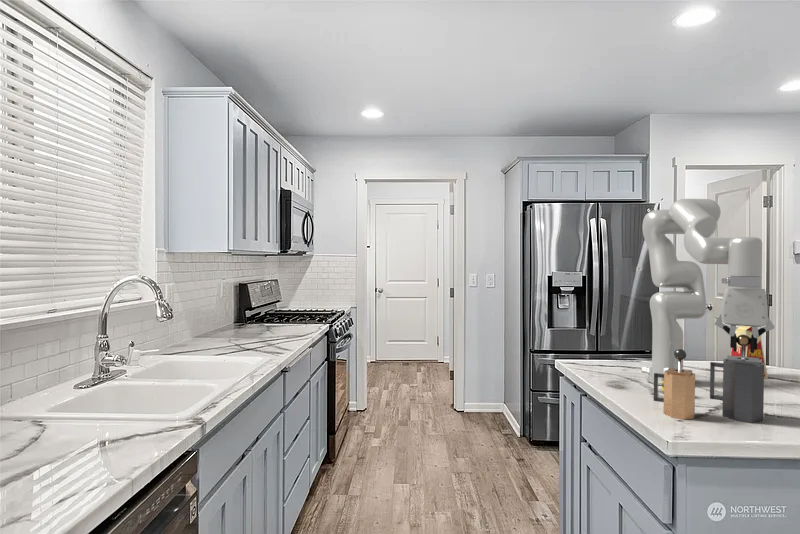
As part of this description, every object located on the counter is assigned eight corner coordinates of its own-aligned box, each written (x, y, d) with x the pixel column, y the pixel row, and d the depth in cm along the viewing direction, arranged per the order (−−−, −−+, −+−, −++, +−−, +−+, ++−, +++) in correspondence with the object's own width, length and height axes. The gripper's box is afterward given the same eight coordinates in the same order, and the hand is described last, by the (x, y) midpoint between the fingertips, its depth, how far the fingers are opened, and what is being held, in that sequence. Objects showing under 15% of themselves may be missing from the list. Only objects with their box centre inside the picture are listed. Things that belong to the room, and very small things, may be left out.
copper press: (652, 414, 139) (652, 370, 138) (655, 408, 145) (655, 365, 145) (693, 420, 133) (694, 374, 133) (695, 414, 139) (695, 370, 139)
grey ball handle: (672, 411, 138) (673, 349, 138) (673, 408, 140) (674, 347, 140) (685, 412, 136) (685, 350, 136) (685, 410, 139) (686, 348, 139)
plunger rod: (735, 411, 136) (736, 334, 136) (735, 409, 139) (736, 333, 139) (749, 413, 135) (751, 335, 134) (749, 410, 137) (750, 334, 137)
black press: (709, 416, 137) (710, 358, 137) (710, 408, 145) (711, 353, 144) (763, 424, 131) (764, 363, 130) (761, 416, 138) (762, 358, 138)
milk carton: (768, 379, 184) (769, 323, 183) (742, 378, 184) (743, 323, 184) (750, 373, 193) (751, 320, 193) (726, 373, 193) (727, 320, 193)
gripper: (708, 282, 138) (707, 350, 138) (784, 284, 129) (782, 357, 129) (709, 281, 144) (708, 346, 144) (781, 283, 135) (780, 352, 135)
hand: (743, 350), depth 137 cm, fingers closed on plunger rod, 3 cm apart
